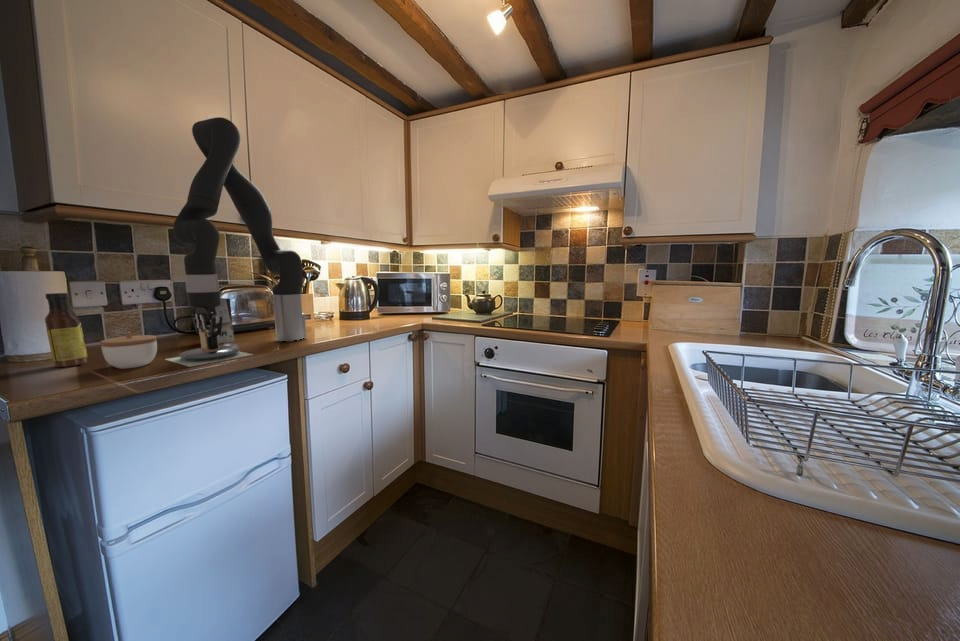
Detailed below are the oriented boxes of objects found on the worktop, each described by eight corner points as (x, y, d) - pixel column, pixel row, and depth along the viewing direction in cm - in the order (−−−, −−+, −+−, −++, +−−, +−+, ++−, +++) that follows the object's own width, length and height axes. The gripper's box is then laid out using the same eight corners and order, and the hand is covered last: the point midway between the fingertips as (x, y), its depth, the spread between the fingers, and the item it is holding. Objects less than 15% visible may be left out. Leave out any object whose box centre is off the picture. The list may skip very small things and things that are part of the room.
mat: (226, 349, 114) (226, 348, 114) (253, 355, 107) (253, 354, 106) (164, 360, 101) (164, 359, 101) (189, 368, 93) (189, 366, 93)
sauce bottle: (95, 362, 99) (84, 292, 96) (67, 368, 92) (54, 293, 90) (74, 361, 99) (63, 292, 97) (45, 367, 93) (32, 293, 90)
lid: (225, 346, 113) (223, 325, 112) (248, 351, 106) (246, 329, 105) (171, 355, 101) (168, 332, 100) (193, 361, 94) (190, 337, 93)
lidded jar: (95, 369, 91) (89, 334, 90) (146, 360, 101) (142, 328, 100) (117, 374, 87) (112, 337, 86) (168, 363, 97) (164, 330, 96)
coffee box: (235, 341, 128) (231, 298, 126) (215, 345, 122) (210, 299, 120) (221, 339, 132) (217, 297, 130) (202, 342, 127) (197, 298, 124)
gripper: (230, 290, 101) (236, 348, 103) (206, 289, 108) (213, 343, 110) (199, 291, 94) (207, 354, 97) (176, 290, 101) (184, 348, 104)
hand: (210, 348), depth 103 cm, fingers closed on lid, 3 cm apart
